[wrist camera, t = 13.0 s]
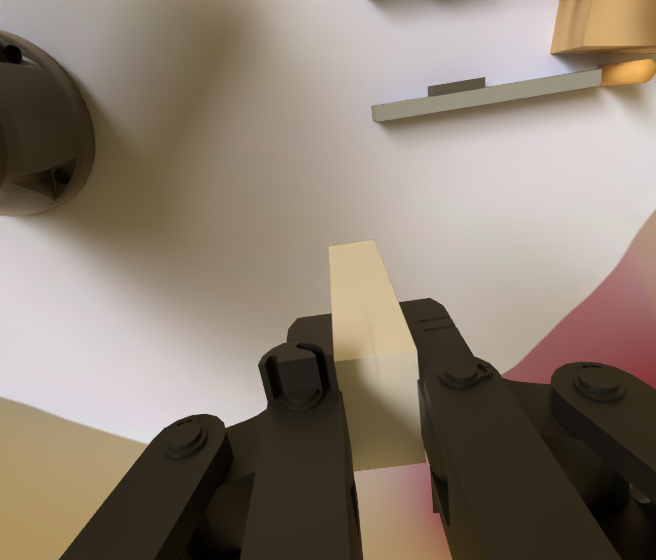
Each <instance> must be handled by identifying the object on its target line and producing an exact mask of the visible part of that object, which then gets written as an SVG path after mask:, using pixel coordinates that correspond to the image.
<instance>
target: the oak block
mask: <svg viewBox="0 0 656 560" xmlns="http://www.w3.org/2000/svg"><path fill="white" fill-rule="evenodd" d="M570 53H656V0H559V6H558V11H557V17H556V23H555V28H554V34H553V39H552V45H551V50H550V54H570Z"/></svg>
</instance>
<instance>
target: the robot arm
mask: <svg viewBox="0 0 656 560" xmlns="http://www.w3.org/2000/svg"><path fill="white" fill-rule="evenodd" d="M94 150H95V142H94V132H93V126H92V122H91V119H90V115H89V112H88V110H87V107H86V105H85V103H84V101H83V98H82V97H81V95H80V93H79V91H78V90H77V88H76V86H75V85H74V83H73V82H72V80H71V79H70V78H69V76H68V75H67V74H66V73H65V72H64V70H63V69H62V68H61V67H60V66H59V65H58V64H57V63H56V62H55V61H54V60H53V59H52V58H51V57H49V56H48V55H47V54H46V53H45V52H43V51H42V50H41V49H39V48H38V47H36V46H35V45H33V44H32V43H30V42H28V41H26V40H25V39H23V38H21V37H18V36H16V35H14V34H11V33H9V32H6V31H2V30H0V216H26V215H32V214H37V213H40V212H43V211H46V210H48V209H51V208H54V207H56V206H59V205H61V204H63V203H65V202H66V201H68V200H69V199H71V198H72V197H73V196H74V195H75V194H76V193H77V192H78V191H79V190H80V189H81V188H82V186H83V185H84V183H85V182H86V180H87V178H88V176H89V174H90V171H91V168H92V164H93V159H94ZM329 265H330V286H331V307H332V313H331V314H324V315H317V316H310V317H303V318H297V320H296V321H295V322H294V323H293V324H292V325H291V327H290V328H289V329H288V336H287V342H286V343H283V344H281V345H279V346H277V347H274V348H272V349H271V350H270V351H269V352H267V353H266V354H265V355H264V356H263V357H262V359H261V360H260V362H259V364H258V367H259V371H260V374H261V378H262V382H263V386H264V390H265V393H266V397H267V401H268V404H267V409H266V410H264V411H263V412H261V413H260V414H258V415H257V416H255V417H253V418H251V419H248V420H246V421H243V422H241V423H238V424H235V425H233V426H230V427H227V428H225V425H224V422H223V421H221V420H220V419H219V418H218V417H217V416H213V415H208V414H199V415H191V416H188V417H186V418H183V419H180V420H177V421H176V422H174V423H172V424H171V425H169V426H168V427H166V428H164V429H163V430H162V431H161V432H160V433H159V434H158V435H157V436H156V437H155V438H154V439H153V440H152V441H151V443H150V444H149V445H148V447H147V448H146V449H145V450H144V452H143V453H142V454H141V456H140V457H139V458H138V459H137V461H136V462H135V463H134V464H133V466H132V467H131V468H130V470H129V471H128V472H127V473H126V475H125V476H124V477H123V478H122V480H121V481H120V482H119V484H118V485H117V486H116V487H115V489H114V490H113V491H112V492H111V494H110V495H109V496H108V498H107V499H106V500H105V501H104V503H103V504H102V505H101V507H100V508H99V509H98V510H97V512H96V513H95V514H94V516H93V517H92V518H91V519H90V521H89V522H88V523H87V524H86V526H85V527H84V528H83V529H82V531H81V532H80V533H79V535H78V536H77V537H76V538H75V540H74V541H73V542H72V543H71V545H70V546H69V547H68V549H67V550H66V551H65V552H64V554H63V555H62V556H61V557H60V559H59V560H363V552H362V541H361V531H360V522H359V521H360V520H359V509H358V499H357V491H356V486H355V481H354V472H353V471H361V470H369V469H377V468H385V467H394V466H402V465H410V464H418V463H426V460H425V450H426V453H427V457H428V460H429V464H430V471H431V485H432V499H433V513H440V517H441V521H442V524H443V528H444V531H445V535H446V538H447V542H448V545H449V549H450V552H451V556H452V559H453V560H656V389H654V388H653V387H651V386H650V385H648V384H646V383H645V382H643V381H641V380H639V379H638V378H636V377H635V376H633V375H631V374H629V373H627V372H625V371H623V370H620V369H618V368H616V367H612V366H609V365H604V364H601V363H593V362H576V363H570V364H565V365H563V366H561V367H560V368H558V369H556V370H555V372H554V374H553V375H552V377H551V384H537V383H526V382H517V381H511V380H508V379H504V378H502V377H501V375H500V374H499V372H498V371H497V370H496V369H495V368H494V367H493V366H492V365H491V364H490V363H488V362H486V361H484V360H482V359H479V358H477V357H474V355H473V354H472V352H471V350H470V349H469V347H468V345H467V344H466V342H465V341H464V339H463V337H462V336H461V334H460V332H459V331H458V329H457V327H455V324H454V322H453V321H452V319H451V318H450V316H449V314H448V312H447V311H446V309H445V308H444V306H443V305H441V304H440V303H438V302H436V301H434V300H433V299H431V298H427V299H420V300H412V301H405V302H398V300H397V298H396V295H395V292H394V290H393V287H392V285H391V282H390V279H389V277H388V274H387V272H386V269H385V267H384V264H383V261H382V259H381V256H380V254H379V251H378V249H377V246H376V243H375V241H374V240H368V241H361V242H354V243H348V244H341V245H334V246H329ZM635 487H636V488H635Z"/></svg>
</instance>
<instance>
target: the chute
mask: <svg viewBox="0 0 656 560" xmlns="http://www.w3.org/2000/svg"><path fill="white" fill-rule="evenodd" d="M655 72H656V64H655V62H654V61H653V60H651V59H645V60H637V61H630V62H623V63H616V64H609V65H603V66H601V67H599V68H598V69H597V70H590V71H582V72H575V73H569V74H563V75H557V76H551V77H545V78H539V79H533V80H527V81H521V82H515V83H509V84H502V85H496V86H490V87H485V77H483V78H477V79H471V80H465V81H459V82H453V83H447V84H441V85H435V86H429V87H428V97H424V98H418V99H412V100H405V101H399V102H393V103H387V104H381V105H375V106H371V107H372V116H373V121H376V122H379V121H386V120H392V119H398V118H404V117H410V116H416V115H422V114H429V113H435V112H441V111H447V110H453V109H459V108H465V107H471V106H478V105H484V104H490V103H496V102H502V101H508V100H514V99H521V98H527V97H533V96H539V95H545V94H551V93H557V92H564V91H570V90H576V89H582V88H588V87H594V86H605V85H620V84H635V83H645V82H647V81H649V80H650V79H651V78H652V77H653V76H654V74H655Z"/></svg>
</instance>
